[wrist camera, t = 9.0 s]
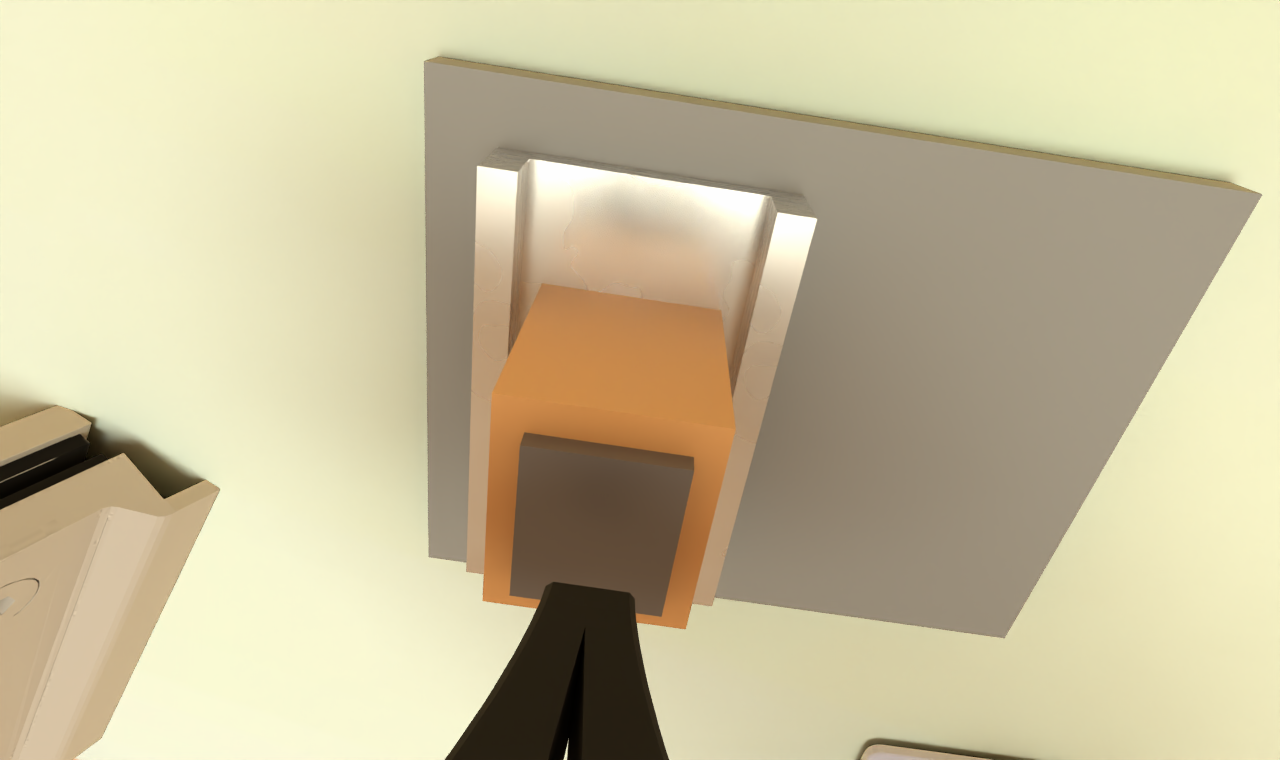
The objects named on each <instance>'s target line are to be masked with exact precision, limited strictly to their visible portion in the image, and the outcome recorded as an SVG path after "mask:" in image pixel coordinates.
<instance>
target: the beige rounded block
mask: <svg viewBox="0 0 1280 760" xmlns="http://www.w3.org/2000/svg"><path fill="white" fill-rule="evenodd" d="M90 426H91V422H89V421H88V420H86V419H85V418H83V417H82V416H80V415H79V414H77V413H76V412H74V411H73V410H71V409H67V408H64V407H61V406H58V405H56V406H54V407H51V408H48V409H46V410H43V411H41V412H38V413H35V414H33V415H30V416H27V417H25V418H22V419H19V420H17V421H14V422H12V423H9V424H6V425H4V426H1V427H0V760H73V759H74V758H75V757H77V756H78V755H79V754H81V753H82V752H83V751H85V750H86V749H88V748H89V747H90V746H92V745H93V744H94V743H96V742H97V741H98V740H100V739H101V738H102V736H103V734H104V732H105V729H106V727H107V725H108V723H109V721H110V719H111V717H112V715H113V713H114V711H115V708H116V706H117V704H118V702H119V700H120V698H121V696H122V694H123V692H124V690H125V687H126V685H127V683H128V681H129V679H130V677H131V675H132V673H133V671H134V669H135V666H136V664H137V662H138V660H139V658H140V656H141V654H142V652H143V650H144V648H145V646H146V643H147V641H148V639H149V637H150V635H151V633H152V631H153V629H154V627H155V625H156V622H157V620H158V618H159V616H160V614H161V612H162V610H163V608H164V606H165V604H166V601H167V599H168V597H169V595H170V593H171V591H172V589H173V587H174V585H175V583H176V580H177V578H178V576H179V574H180V572H181V570H182V568H183V566H184V564H185V562H186V559H187V557H188V555H189V553H190V551H191V549H192V547H193V545H194V543H195V541H196V538H197V536H198V534H199V532H200V530H201V528H202V526H203V524H204V522H205V520H206V518H207V515H208V513H209V511H210V509H211V507H212V505H213V503H214V501H215V499H216V497H217V494H218V492H219V488H218V487H217V486H215V485H214V484H212V483H210V482H209V481H207V480H204V481H202V482H200V483H198V484H195V485H193V486H191V487H189V488H187V489H185V490H183V491H181V492H178V493H176V494H174V495H172V496H170V497H168V498H166V499H163V498H162V497H161V495H160V494H159V493H158V492H157V491H156V490H155V488H154V487H153V486H152V485H151V484H150V483H149V482H148V480H147V479H146V478H145V477H144V476H143V475H142V473H141V472H140V471H139V470H138V469H137V468H136V466H135V465H134V464H133V463H132V462H131V461H130V459H129V458H128V457H127V456H126V455H125V454H124V453H122V454H120V455H118V456H115V457H113V458H111V459H109V460H108V459H107V458H106V457H105V456H104V455H103V454H99V455H97V456H95V457H93V458H91V459H88V460H86V461H84V460H85V457H86V454H87V451H88V448H89V446H90V443H89V442H88V441H87V436H88V433H89V430H90Z"/></svg>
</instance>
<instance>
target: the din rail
mask: <svg viewBox="0 0 1280 760" xmlns="http://www.w3.org/2000/svg"><path fill="white" fill-rule="evenodd" d="M816 222H817V217H816V216H815V214H814V212H813V210H812V208H811V207H810V205H809V203H808V201H807V200H806V198H805V196H804V195H802V194H796V193H789V192H783V191H777V190H770V189H764V188H757V187H751V186H745V185H738V184H732V183H725V182H719V181H713V180H706V179H700V178H693V177H687V176H681V175H674V174H668V173H661V172H655V171H649V170H642V169H636V168H629V167H623V166H617V165H610V164H604V163H597V162H591V161H585V160H578V159H572V158H565V157H559V156H553V155H546V154H540V153H533V152H527V151H521V150H514V149H508V148H501V147H497V148H496V149H495V150H494V151H493V152H492V153H491V154H490V155H488V156H487V157H486V158H485V159H484V160H483V161H482V162H481V163H480V164H479V165H478V166H477V192H476V229H475V267H474V304H473V342H472V379H471V417H470V454H469V492H468V529H467V567H466V572H472V573H480V574H484V559H485V536H486V514H487V491H488V468H489V445H490V422H491V399H492V392H493V389H494V387H495V385H496V383H497V381H498V378H499V376H500V374H501V372H502V370H503V368H504V365H505V363H506V361H507V359H508V357H509V354H510V352H511V350H512V348H513V346H514V343H515V341H516V339H517V337H518V335H519V333H520V330H521V328H522V326H523V324H524V322H525V319H526V317H527V315H528V313H529V311H530V308H531V306H532V304H533V302H534V300H535V298H536V295H537V293H538V291H539V289H540V287H541V284H542V283H544V284H550V285H557V286H564V287H570V288H577V289H583V290H590V291H597V292H603V293H610V294H616V295H623V296H630V297H636V298H643V299H649V300H656V301H663V302H669V303H676V304H682V305H689V306H696V307H702V308H709V309H715V310H721V311H722V320H723V328H724V336H725V344H726V352H727V361H728V369H729V377H730V385H731V394H732V402H733V410H734V418H735V426H736V430H735V434H734V438H733V442H732V446H731V450H730V454H729V458H728V462H727V466H726V470H725V474H724V478H723V482H722V486H721V490H720V494H719V498H718V502H717V506H716V510H715V514H714V518H713V522H712V526H711V530H710V534H709V538H708V542H707V546H706V550H705V554H704V558H703V562H702V566H701V570H700V574H699V578H698V582H697V586H696V590H695V594H694V598H693V602H692V603H693V604H700V605H707V606H712V604H713V600H714V597H715V593H716V589H717V586H718V582H719V578H720V575H721V571H722V567H723V564H724V560H725V556H726V553H727V549H728V545H729V542H730V538H731V534H732V531H733V527H734V523H735V520H736V516H737V512H738V509H739V505H740V501H741V497H742V494H743V490H744V486H745V483H746V479H747V475H748V472H749V468H750V464H751V461H752V457H753V453H754V450H755V446H756V442H757V439H758V435H759V431H760V428H761V424H762V420H763V417H764V413H765V409H766V406H767V402H768V398H769V394H770V391H771V387H772V383H773V380H774V376H775V372H776V369H777V365H778V361H779V358H780V354H781V350H782V347H783V343H784V339H785V336H786V332H787V328H788V325H789V321H790V317H791V314H792V310H793V306H794V302H795V299H796V295H797V291H798V288H799V284H800V280H801V277H802V273H803V269H804V266H805V262H806V258H807V255H808V251H809V247H810V244H811V240H812V236H813V233H814V229H815V225H816Z"/></svg>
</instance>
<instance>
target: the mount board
mask: <svg viewBox="0 0 1280 760" xmlns="http://www.w3.org/2000/svg"><path fill="white" fill-rule="evenodd" d="M424 101H425V208H426V315H427V422H428V529H429V557H432V558H439V559H446V560H453V561H460V562H467V529H468V492H469V454H470V417H471V379H472V342H473V304H474V267H475V229H476V192H477V166H478V165H479V164H480V163H481V162H482V161H483V160H484V159H485V158H486V157H487V156H488V155H490V154H491V153H492V152H493V151H494V150H495V149H496V148H497V147H501V148H508V149H514V150H521V151H527V152H533V153H540V154H546V155H553V156H559V157H565V158H572V159H578V160H585V161H591V162H597V163H604V164H610V165H617V166H623V167H629V168H636V169H642V170H649V171H655V172H661V173H668V174H674V175H681V176H687V177H693V178H700V179H706V180H713V181H719V182H725V183H732V184H738V185H745V186H751V187H757V188H764V189H770V190H777V191H783V192H789V193H796V194H802V195H804V196H805V198H806V200H807V201H808V203H809V205H810V207H811V208H812V210H813V212H814V214H815V216H816V217H817V222H816V225H815V229H814V233H813V236H812V240H811V244H810V247H809V251H808V255H807V258H806V262H805V266H804V269H803V273H802V277H801V280H800V284H799V288H798V291H797V295H796V299H795V302H794V306H793V310H792V314H791V317H790V321H789V325H788V328H787V332H786V336H785V339H784V343H783V347H782V350H781V354H780V358H779V361H778V365H777V369H776V372H775V376H774V380H773V383H772V387H771V391H770V394H769V398H768V402H767V406H766V409H765V413H764V417H763V420H762V424H761V428H760V431H759V435H758V439H757V442H756V446H755V450H754V453H753V457H752V461H751V464H750V468H749V472H748V475H747V479H746V483H745V486H744V490H743V494H742V497H741V501H740V505H739V509H738V512H737V516H736V520H735V523H734V527H733V531H732V534H731V538H730V542H729V545H728V549H727V553H726V556H725V560H724V564H723V567H722V571H721V575H720V578H719V582H718V586H717V589H716V593H715V597H716V598H723V599H730V600H737V601H744V602H751V603H758V604H765V605H773V606H780V607H787V608H794V609H801V610H808V611H815V612H822V613H829V614H836V615H844V616H851V617H858V618H865V619H872V620H879V621H886V622H893V623H900V624H907V625H915V626H922V627H929V628H936V629H943V630H950V631H957V632H964V633H971V634H978V635H985V636H993V637H1000V638H1005V636H1006V635H1007V633H1008V631H1009V630H1010V628H1011V626H1012V624H1013V623H1014V621H1015V619H1016V617H1017V616H1018V614H1019V612H1020V611H1021V609H1022V607H1023V605H1024V604H1025V602H1026V600H1027V599H1028V597H1029V595H1030V593H1031V592H1032V590H1033V588H1034V586H1035V585H1036V583H1037V581H1038V580H1039V578H1040V576H1041V574H1042V573H1043V571H1044V569H1045V568H1046V566H1047V564H1048V562H1049V561H1050V559H1051V557H1052V556H1053V554H1054V552H1055V550H1056V549H1057V547H1058V545H1059V543H1060V542H1061V540H1062V538H1063V537H1064V535H1065V533H1066V531H1067V530H1068V528H1069V526H1070V525H1071V523H1072V521H1073V519H1074V518H1075V516H1076V514H1077V513H1078V511H1079V509H1080V507H1081V506H1082V504H1083V502H1084V500H1085V499H1086V497H1087V495H1088V494H1089V492H1090V490H1091V488H1092V487H1093V485H1094V483H1095V482H1096V480H1097V478H1098V476H1099V475H1100V473H1101V471H1102V469H1103V468H1104V466H1105V464H1106V463H1107V461H1108V459H1109V457H1110V456H1111V454H1112V452H1113V451H1114V449H1115V447H1116V445H1117V444H1118V442H1119V440H1120V439H1121V437H1122V435H1123V433H1124V432H1125V430H1126V428H1127V426H1128V425H1129V423H1130V421H1131V420H1132V418H1133V416H1134V414H1135V413H1136V411H1137V409H1138V408H1139V406H1140V404H1141V402H1142V401H1143V399H1144V397H1145V396H1146V394H1147V392H1148V390H1149V389H1150V387H1151V385H1152V383H1153V382H1154V380H1155V378H1156V377H1157V375H1158V373H1159V371H1160V370H1161V368H1162V366H1163V365H1164V363H1165V361H1166V359H1167V358H1168V356H1169V354H1170V352H1171V351H1172V349H1173V347H1174V346H1175V344H1176V342H1177V340H1178V339H1179V337H1180V335H1181V334H1182V332H1183V330H1184V328H1185V327H1186V325H1187V323H1188V322H1189V320H1190V318H1191V316H1192V315H1193V313H1194V311H1195V309H1196V308H1197V306H1198V304H1199V303H1200V301H1201V299H1202V297H1203V296H1204V294H1205V292H1206V291H1207V289H1208V287H1209V285H1210V284H1211V282H1212V280H1213V279H1214V277H1215V275H1216V273H1217V272H1218V270H1219V268H1220V266H1221V265H1222V263H1223V261H1224V260H1225V258H1226V256H1227V254H1228V253H1229V251H1230V249H1231V248H1232V246H1233V244H1234V242H1235V241H1236V239H1237V237H1238V236H1239V234H1240V232H1241V230H1242V229H1243V227H1244V225H1245V223H1246V222H1247V220H1248V218H1249V217H1250V215H1251V213H1252V211H1253V210H1254V208H1255V206H1256V205H1257V203H1258V201H1259V199H1260V198H1261V196H1262V194H1260V193H1257V192H1255V191H1252V190H1249V189H1246V188H1244V187H1241V186H1238V185H1236V184H1233V183H1229V182H1223V181H1217V180H1210V179H1204V178H1198V177H1192V176H1185V175H1179V174H1173V173H1167V172H1160V171H1154V170H1148V169H1141V168H1135V167H1129V166H1123V165H1116V164H1110V163H1104V162H1097V161H1091V160H1085V159H1079V158H1072V157H1066V156H1060V155H1053V154H1047V153H1041V152H1035V151H1028V150H1022V149H1016V148H1010V147H1003V146H997V145H991V144H984V143H978V142H972V141H966V140H959V139H953V138H947V137H940V136H934V135H928V134H922V133H915V132H909V131H903V130H896V129H890V128H884V127H878V126H871V125H865V124H859V123H852V122H846V121H840V120H834V119H827V118H821V117H815V116H809V115H802V114H796V113H790V112H783V111H777V110H771V109H765V108H758V107H752V106H746V105H739V104H733V103H727V102H721V101H714V100H708V99H702V98H695V97H689V96H683V95H677V94H670V93H664V92H658V91H651V90H645V89H639V88H633V87H626V86H620V85H614V84H608V83H601V82H595V81H589V80H582V79H576V78H570V77H564V76H557V75H551V74H545V73H538V72H532V71H526V70H520V69H513V68H507V67H501V66H494V65H488V64H482V63H476V62H469V61H463V60H457V59H450V58H444V57H436V58H432V59H429V60H426V61H424Z"/></svg>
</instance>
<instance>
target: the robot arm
mask: <svg viewBox="0 0 1280 760" xmlns="http://www.w3.org/2000/svg"><path fill="white" fill-rule="evenodd" d="M568 738H569V741H568ZM567 743H568V756H567V760H669V758H668V755H667V752H666V749H665V746H664V742H663V739H662V736H661V732H660V729H659V725H658V721H657V718H656V714H655V710H654V706H653V703H652V699H651V695H650V691H649V687H648V683H647V679H646V674H645V670H644V665H643V660H642V654H641V649H640V644H639V637H638V631H637V623H636V612H635V598H634V597H633V596H632V595H631V594H630V593H629V592H623V591H616V590H609V589H602V588H595V587H588V586H581V585H574V584H566V583H559V582H552V583H550V584H548V585H546V586H545V589H544V592H543V595H542V598H541V600H540V603H539V605H538V607H537V610H536V612H535V614H534V616H533V619H532V621H531V623H530V625H529V627H528V629H527V631H526V633H525V634H524V636H523V638H522V640H521V642H520V644H519V646H518V647H517V649H516V651H515V653H514V655H513V656H512V658H511V660H510V661H509V663H508V665H507V666H506V668H505V670H504V671H503V673H502V675H501V676H500V678H499V680H498V681H497V683H496V685H495V686H494V688H493V690H492V691H491V693H490V695H489V696H488V698H487V699H486V701H485V702H484V704H483V705H482V707H481V708H480V710H479V711H478V713H477V714H476V716H475V717H474V719H473V720H472V721H471V723H470V724H469V726H468V727H467V729H466V730H465V732H464V733H463V735H462V736H461V738H460V739H459V740H458V742H457V743H456V745H455V746H454V748H453V749H452V750H451V752H450V753H449V755H448V756H447V757H446V759H445V760H563V759H564V755H565V751H566V747H567ZM861 760H992V759H985V758H977V757H970V756H963V755H955V754H948V753H941V752H933V751H926V750H919V749H911V748H904V747H897V746H889V745H882V744H876V745H871V746H870V747H868V748H867V749H866V750H865V751H864V753H863V755H862V758H861Z"/></svg>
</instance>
